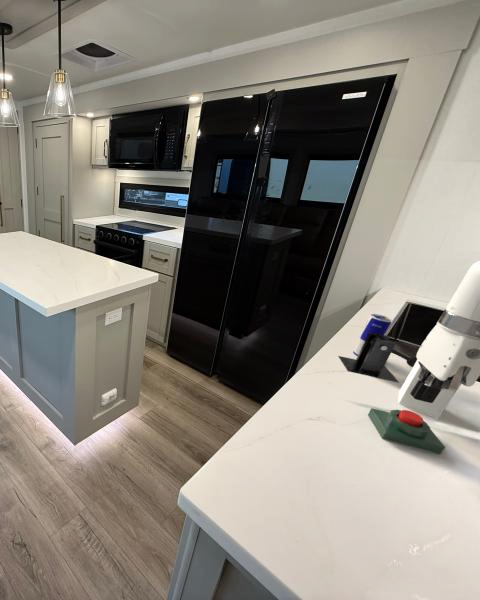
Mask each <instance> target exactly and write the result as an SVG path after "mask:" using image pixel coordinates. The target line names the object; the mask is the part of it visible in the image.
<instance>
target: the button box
mask: <svg viewBox="0 0 480 600" xmlns="http://www.w3.org/2000/svg"><path fill="white" fill-rule="evenodd" d="M401 411H402V410H401V409H391V410H389V412H388V411H385V410H382V409H381V410H380V409H377V408H374V407H373V408H372V407H371V408H370V410H369V411H368V413H367V416H368V418H369V419H370V421H371V423H372V424H373V426H374V428H375V429H376V431H377V433H378V434H379V436H380V437H381V439H383V440H386V441H390V442H393V443H397V444H401V445H403V446H404V445H405V446H408V447H411V448H415V449H418V450H423V451H426V452H429V453H433V454H436V455H441V454H442V453H443V452H444V450H445V449H446V446H445V445H444V444H443V442H442V441H441V440H440V439H439V437H437V434H435V433H434V431H433V430H432V429H431V427H430V425H429V424H428V423H427V422H426V421H425V420H423V422H422V424H421V425H420V427H418V428H417V427H413V426H410V425H408V424H406V423H404V422H402V421H401V420H400V419H399V418H398V416H399V414H400V412H401Z"/></svg>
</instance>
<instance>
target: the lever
mask: <svg viewBox="0 0 480 600" xmlns="http://www.w3.org/2000/svg"><path fill="white" fill-rule="evenodd" d="M375 339H380V340H383V339H381V338H379V337H377V336H376V337H375V338H374V339H372V340H371V341H370V343H371V344H373V342H374V340H375ZM391 354H394V355H396V356H397V357H399V358H402V359H404V360H405V361H406V364H407V366H409V367H410V368H413V366H414V365H415V363H416V361H417V357H416V355H415V356H414V355H413V356H408V355H407V354H405V353H403V352H402V351H399V350H397V349H395V347H394V348H393V350H392V352H391Z"/></svg>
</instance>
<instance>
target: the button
mask: <svg viewBox="0 0 480 600" xmlns="http://www.w3.org/2000/svg"><path fill="white" fill-rule="evenodd" d="M398 418H399V419H400V420H401V421H402V422H404V423H406V424H408V425H410V426H413V427H417V428H418V427H420V425H421V424H422V422H423V421H424V418H423V417H422V416H421V415H419V414H418V413H416V412H414V411H411V410H407V409H402V410H401V412H400V414H399V416H398Z"/></svg>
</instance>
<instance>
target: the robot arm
mask: <svg viewBox="0 0 480 600" xmlns="http://www.w3.org/2000/svg"><path fill="white" fill-rule="evenodd" d="M415 357H417V359H418V360H419V361H418V363H419V365H420V366H421V372H420V374H419V376H418V378H419V379H420V380H418V381H417V383H416V385H415V386H414V388H413V390H412V391H411V393H410V394H411V395H412V396H413V398H414V399H416V400H420V401H424V402H428V403H433V402H434V400H435V399H436V397H437V396H438V394H439V393H440V391H441V390H445V389H446V390H451V391H456V392H457V391H458V390H459V388H460V387H459V384H460V383H461V385H463V386H465V387H468V388H469V387H472V386H473V385H474V384H475V383H476V381H477V380H478V378H479V377H480V260H478V261H476V262H474V263H473V264H471V265H470V267H469V268H468V270H467V272H466V273H465V275H464V276H463V278H462V280H461V282H460V283H459V285H458V287H457V288H456V290H455V291H454V293H453V296H452V297H451V299H450V301H449V302H448V303H447V305H446V307H445V309H444V311H443V312H442V314H441V315H440V317H439V319H438V320H437V322H436V325H434V327H433V328H432V329H431V330H430V331H429V333H428V334H427V336H426V338H425V339H424V340H423V342H422V343H421V345H420V347H419V348H418V350H417V352H416V355H415ZM458 387H459V388H458ZM457 389H458V390H457Z"/></svg>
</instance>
